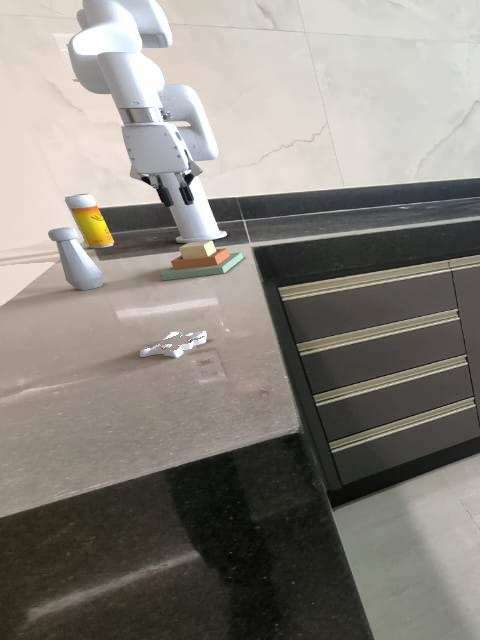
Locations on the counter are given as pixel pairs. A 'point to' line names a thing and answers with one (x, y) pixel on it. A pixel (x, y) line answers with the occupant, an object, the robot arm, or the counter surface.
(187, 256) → the tan block
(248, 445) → the counter surface
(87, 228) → the beer can
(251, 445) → the counter surface
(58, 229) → the salt shaker
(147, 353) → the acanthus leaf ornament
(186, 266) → the base pad
